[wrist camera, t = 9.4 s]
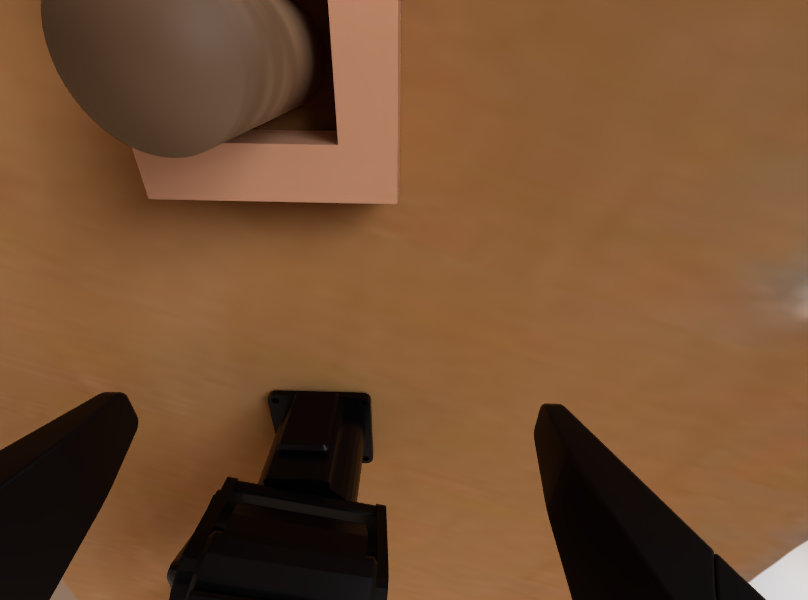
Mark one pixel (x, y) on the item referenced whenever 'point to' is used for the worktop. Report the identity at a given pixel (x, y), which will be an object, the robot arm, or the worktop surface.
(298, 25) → the peg
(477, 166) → the worktop surface
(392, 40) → the socket block
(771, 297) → the worktop surface
